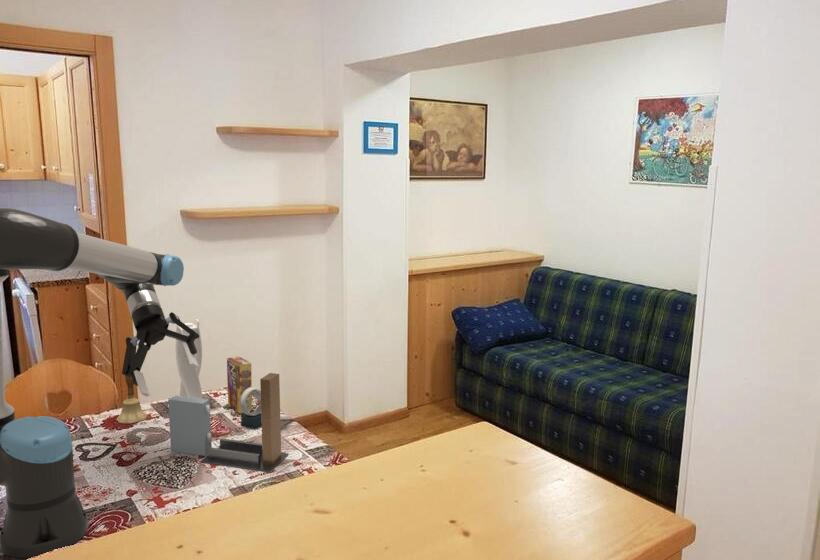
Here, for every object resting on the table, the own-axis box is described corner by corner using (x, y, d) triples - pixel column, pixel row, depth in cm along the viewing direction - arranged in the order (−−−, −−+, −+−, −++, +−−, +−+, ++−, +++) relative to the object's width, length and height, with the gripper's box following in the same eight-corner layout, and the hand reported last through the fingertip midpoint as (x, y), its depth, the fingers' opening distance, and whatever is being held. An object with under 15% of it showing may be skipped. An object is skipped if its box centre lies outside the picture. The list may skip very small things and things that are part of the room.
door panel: (208, 456, 163) (205, 404, 161) (171, 450, 166) (168, 399, 164) (214, 451, 166) (212, 399, 164) (178, 446, 169) (175, 395, 167)
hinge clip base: (270, 472, 155) (267, 383, 151) (200, 462, 160) (196, 376, 156) (288, 454, 165) (286, 371, 161) (222, 445, 170) (219, 364, 166)
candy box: (253, 411, 194) (251, 362, 191) (240, 414, 191) (238, 365, 188) (240, 402, 200) (239, 355, 198) (227, 405, 198) (225, 358, 195)
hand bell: (130, 411, 192) (127, 360, 189) (153, 415, 190) (150, 363, 187) (110, 421, 184) (106, 368, 182) (133, 425, 182) (130, 371, 179)
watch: (271, 422, 185) (270, 386, 183) (249, 431, 179) (247, 394, 177) (258, 418, 188) (257, 382, 186) (236, 426, 182) (234, 389, 180)
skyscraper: (212, 405, 198) (208, 316, 193) (196, 414, 190) (191, 322, 185) (188, 401, 200) (184, 314, 195) (172, 411, 193) (167, 320, 188)
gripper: (196, 293, 169) (222, 358, 159) (112, 341, 168) (133, 410, 158) (181, 281, 162) (207, 348, 152) (94, 331, 161) (114, 402, 151)
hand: (170, 380), depth 155 cm, fingers open, 13 cm apart
